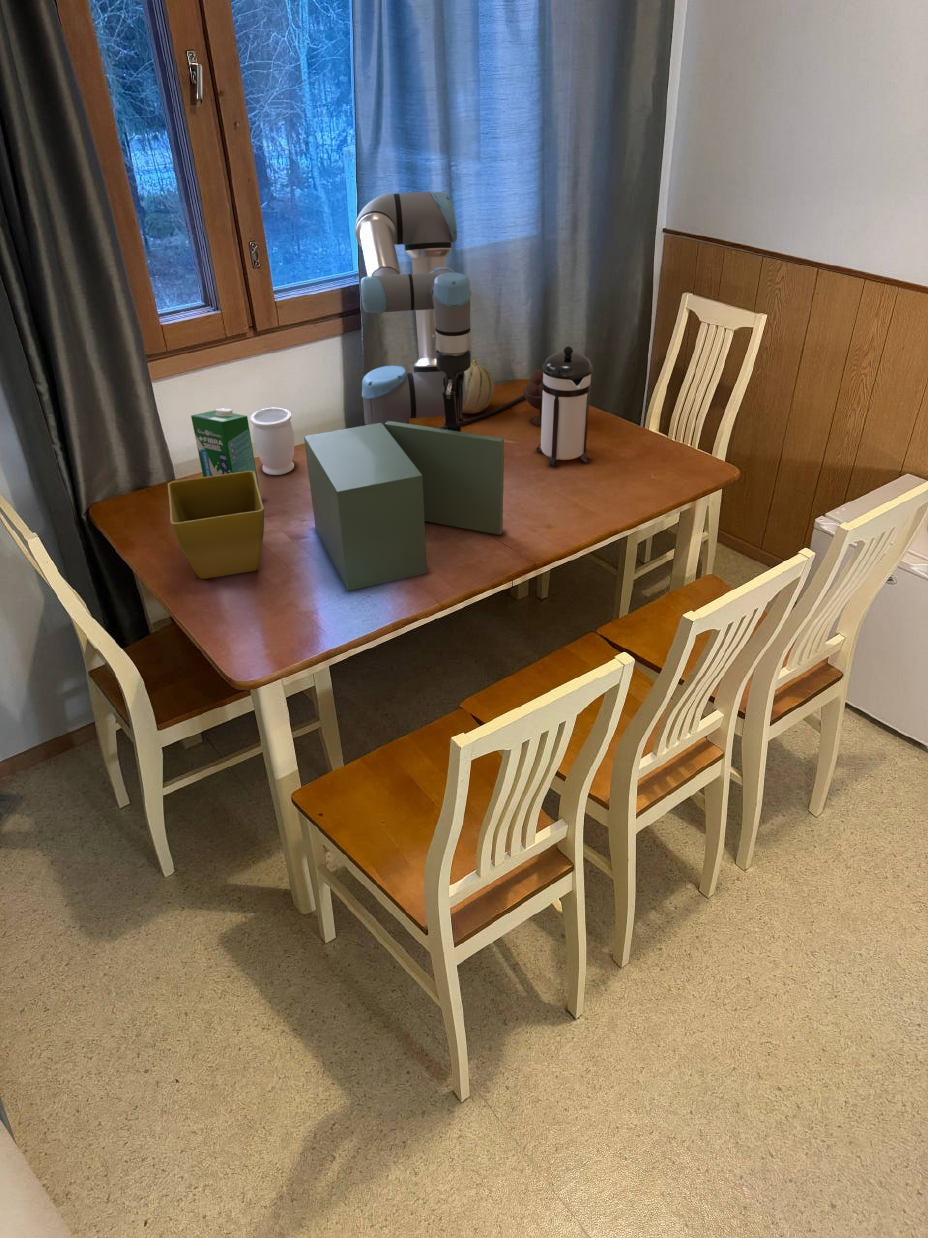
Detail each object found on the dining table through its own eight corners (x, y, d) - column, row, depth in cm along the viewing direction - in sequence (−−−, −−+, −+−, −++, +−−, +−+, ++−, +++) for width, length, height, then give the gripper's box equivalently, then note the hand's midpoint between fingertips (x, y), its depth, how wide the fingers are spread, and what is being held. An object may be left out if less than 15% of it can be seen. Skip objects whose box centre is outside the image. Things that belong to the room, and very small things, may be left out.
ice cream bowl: (518, 426, 264) (519, 376, 255) (530, 411, 273) (532, 362, 264) (553, 432, 261) (555, 381, 252) (565, 416, 269) (567, 366, 260)
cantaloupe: (440, 420, 268) (438, 370, 260) (449, 400, 280) (448, 351, 271) (490, 423, 266) (491, 373, 257) (497, 402, 278) (498, 354, 269)
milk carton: (261, 500, 231) (246, 406, 216) (239, 517, 225) (222, 421, 210) (231, 494, 234) (214, 400, 220) (209, 510, 228) (190, 414, 213)
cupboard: (388, 514, 225) (381, 422, 211) (426, 573, 204) (422, 475, 189) (315, 529, 220) (303, 435, 205) (347, 591, 198) (337, 491, 184)
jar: (290, 479, 240) (282, 425, 231) (252, 475, 242) (243, 422, 233) (303, 460, 249) (296, 408, 240) (267, 457, 250) (259, 405, 242)
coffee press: (601, 450, 251) (610, 341, 234) (574, 473, 240) (581, 361, 223) (545, 436, 259) (549, 329, 241) (516, 458, 248) (519, 348, 230)
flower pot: (275, 576, 203) (264, 509, 194) (186, 591, 199) (170, 523, 189) (264, 533, 218) (254, 469, 208) (181, 547, 214) (167, 482, 204)
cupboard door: (403, 500, 230) (398, 410, 216) (510, 519, 222) (512, 427, 208) (390, 514, 224) (384, 423, 210) (500, 535, 216) (501, 441, 202)
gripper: (442, 338, 205) (444, 436, 219) (429, 359, 195) (432, 461, 209) (475, 340, 204) (475, 439, 218) (464, 361, 194) (465, 464, 208)
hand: (454, 450), depth 213 cm, fingers closed
